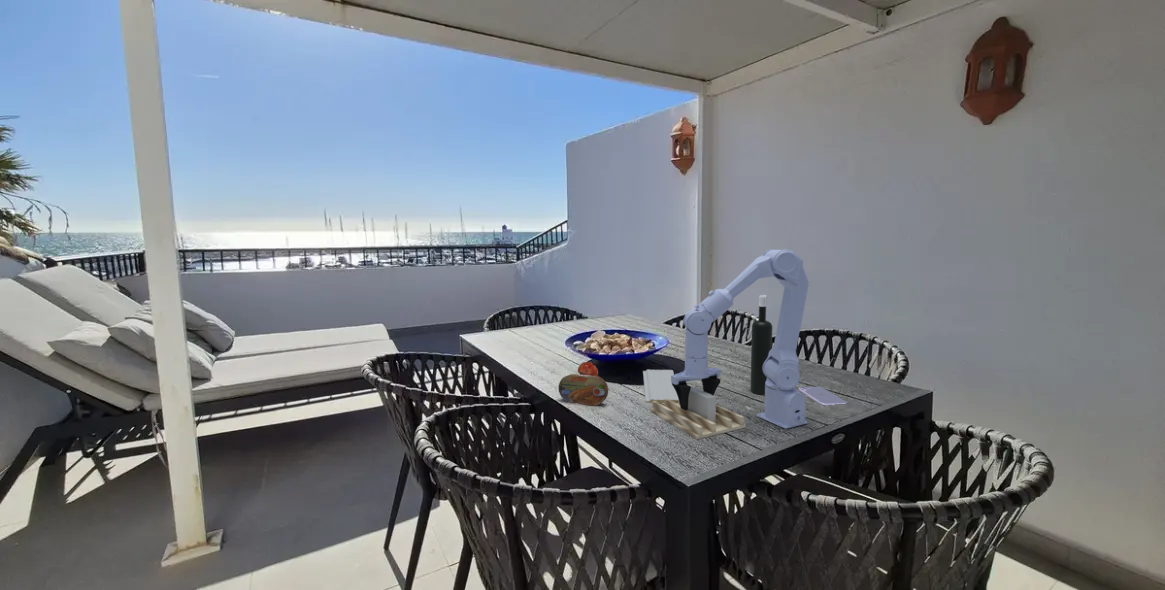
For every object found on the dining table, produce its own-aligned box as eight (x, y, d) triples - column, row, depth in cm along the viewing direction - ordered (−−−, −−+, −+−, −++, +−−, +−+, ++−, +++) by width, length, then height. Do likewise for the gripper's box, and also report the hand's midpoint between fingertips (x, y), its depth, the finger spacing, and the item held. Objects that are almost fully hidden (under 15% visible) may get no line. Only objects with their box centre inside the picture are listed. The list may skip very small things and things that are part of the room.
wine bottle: (757, 395, 135) (760, 296, 132) (746, 389, 141) (748, 294, 137) (774, 393, 137) (777, 295, 133) (762, 388, 142) (765, 293, 139)
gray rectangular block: (715, 423, 114) (715, 396, 113) (707, 425, 113) (707, 398, 112) (685, 408, 125) (686, 383, 124) (678, 409, 124) (678, 384, 123)
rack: (745, 427, 113) (745, 416, 113) (697, 439, 107) (697, 428, 106) (694, 402, 131) (694, 393, 131) (650, 411, 125) (650, 401, 125)
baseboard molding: (640, 404, 132) (682, 405, 131) (640, 394, 132) (682, 395, 131) (638, 373, 163) (672, 374, 162) (638, 365, 162) (672, 366, 161)
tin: (558, 401, 134) (557, 374, 133) (562, 398, 137) (562, 371, 136) (606, 407, 129) (605, 379, 128) (609, 403, 132) (609, 375, 131)
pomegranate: (584, 393, 148) (607, 373, 149) (569, 376, 147) (593, 356, 148) (580, 388, 155) (602, 369, 156) (567, 372, 154) (589, 353, 155)
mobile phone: (822, 403, 127) (797, 386, 141) (822, 406, 127) (796, 389, 142) (849, 402, 127) (821, 385, 142) (849, 405, 127) (821, 388, 142)
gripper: (708, 349, 123) (707, 397, 125) (664, 355, 118) (664, 406, 119) (726, 355, 117) (725, 405, 119) (680, 362, 111) (680, 415, 113)
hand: (695, 406), depth 118 cm, fingers open, 7 cm apart
